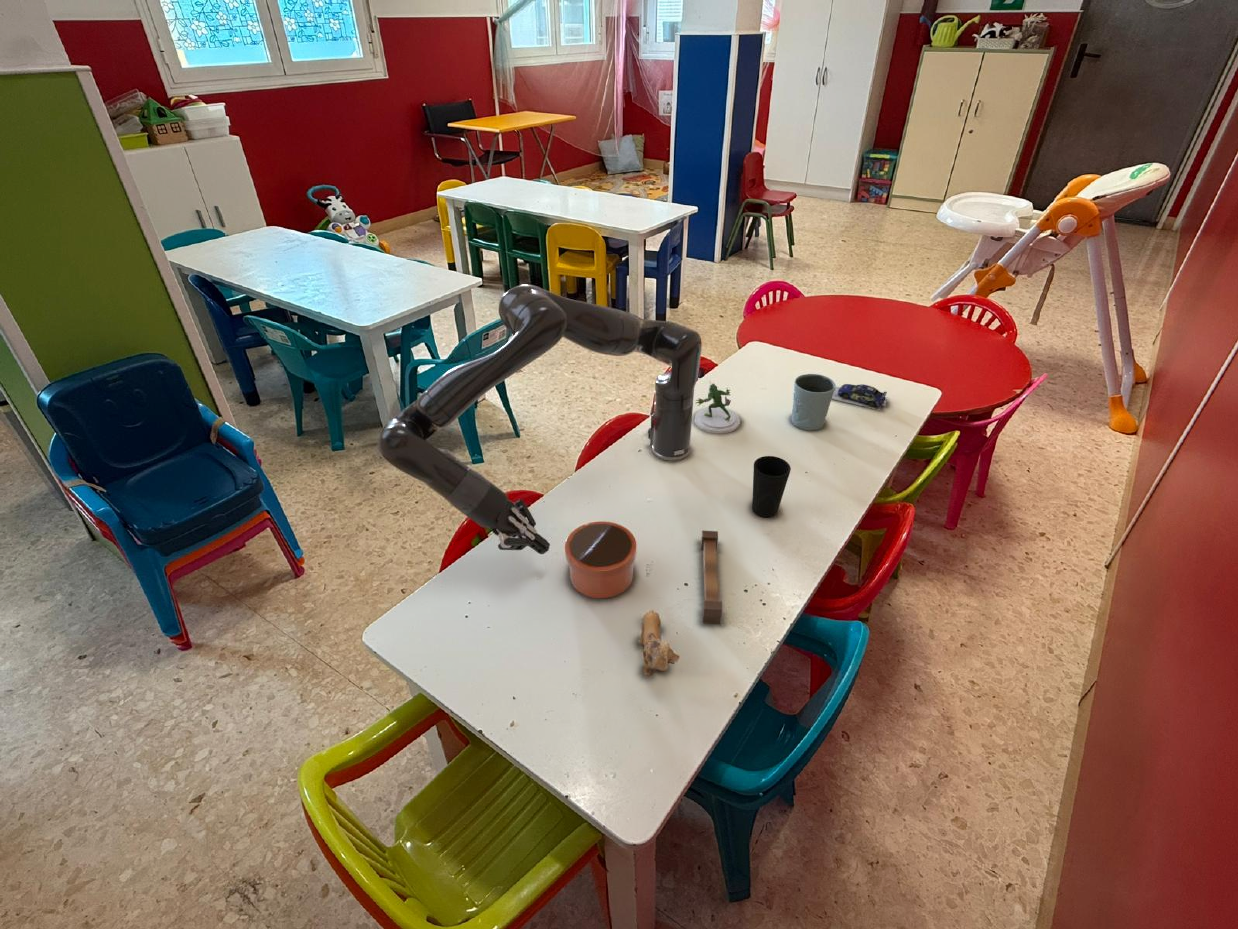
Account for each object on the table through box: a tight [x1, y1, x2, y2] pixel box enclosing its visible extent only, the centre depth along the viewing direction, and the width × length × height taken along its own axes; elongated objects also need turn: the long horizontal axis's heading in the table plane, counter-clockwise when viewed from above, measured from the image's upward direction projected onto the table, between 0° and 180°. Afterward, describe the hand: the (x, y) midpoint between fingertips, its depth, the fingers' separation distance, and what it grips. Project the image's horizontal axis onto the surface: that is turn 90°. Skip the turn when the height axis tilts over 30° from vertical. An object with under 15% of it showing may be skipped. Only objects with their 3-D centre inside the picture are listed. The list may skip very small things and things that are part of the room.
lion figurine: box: [637, 609, 681, 676], centre depth 107 cm, size 15×5×9 cm, turn 13°
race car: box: [831, 383, 888, 411], centre depth 178 cm, size 15×7×4 cm, turn 63°
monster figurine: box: [694, 380, 741, 434], centre depth 167 cm, size 12×12×10 cm
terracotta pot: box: [564, 520, 638, 599], centre depth 122 cm, size 14×14×8 cm
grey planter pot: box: [791, 373, 837, 431], centre depth 166 cm, size 10×10×12 cm
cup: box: [751, 455, 792, 519], centre depth 137 cm, size 8×8×12 cm
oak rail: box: [700, 530, 723, 625], centre depth 122 cm, size 21×3×4 cm, turn 175°
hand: (546, 549), depth 122 cm, fingers closed
